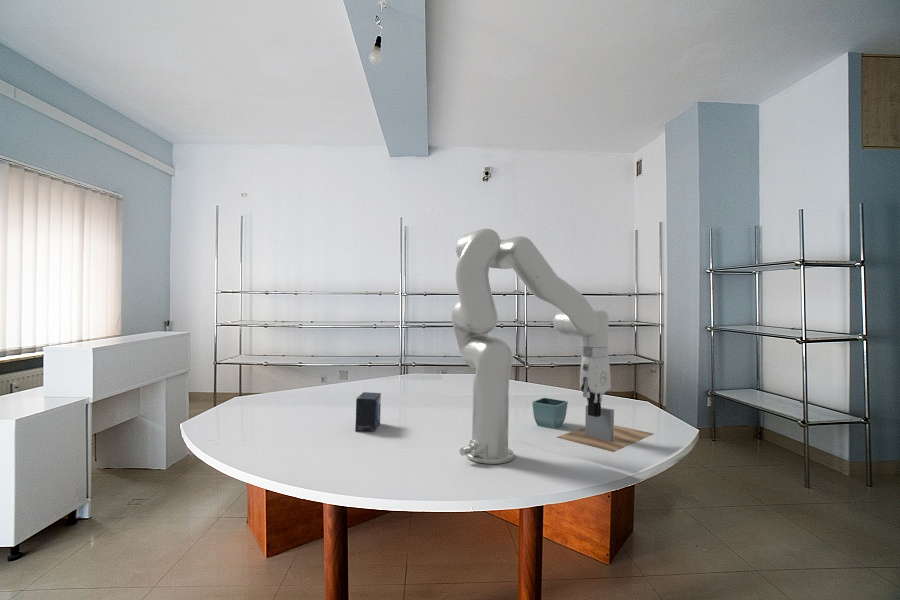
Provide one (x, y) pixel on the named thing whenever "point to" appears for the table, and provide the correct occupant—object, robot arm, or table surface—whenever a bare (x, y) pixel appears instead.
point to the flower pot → (549, 412)
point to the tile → (600, 425)
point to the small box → (368, 411)
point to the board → (621, 440)
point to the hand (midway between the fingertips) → (594, 415)
